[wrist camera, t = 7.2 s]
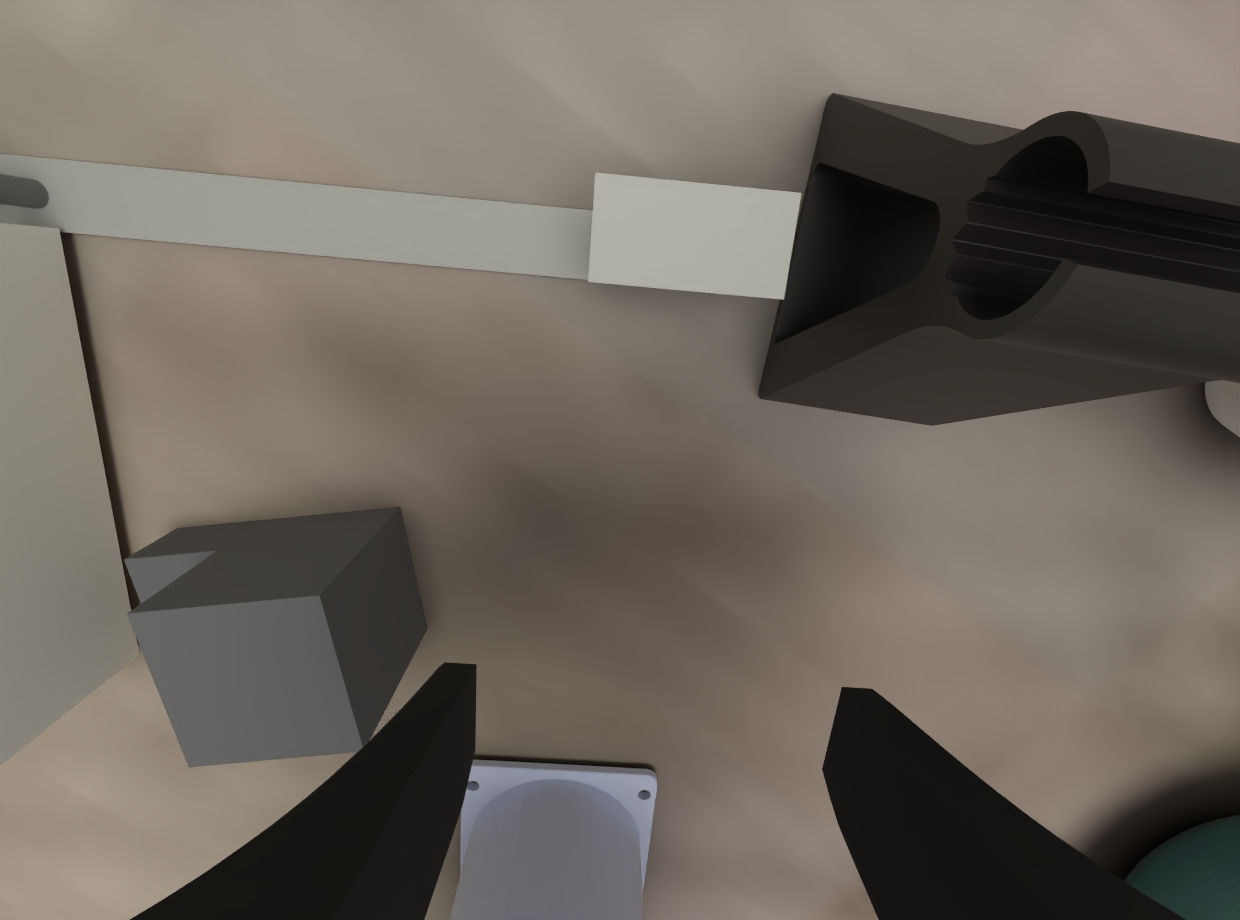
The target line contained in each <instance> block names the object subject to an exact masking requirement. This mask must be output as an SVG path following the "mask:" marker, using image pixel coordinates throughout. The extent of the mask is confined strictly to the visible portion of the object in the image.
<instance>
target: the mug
mask: <svg viewBox="0 0 1240 920" xmlns="http://www.w3.org/2000/svg"><path fill="white" fill-rule="evenodd" d="M1205 397H1206V402H1207V405H1208V407H1209V410H1210V411H1211V413H1212V415H1213V416H1214V417H1215V418H1216V419H1217V420H1218V421H1219V422H1220V423H1221V424H1222V425H1223V426H1225V427H1226V428H1227V429H1229V430H1230V431H1231V432H1233V433H1234V434H1236V435H1237V436H1238V437H1240V383H1236V382H1230V381H1225V380H1218V381H1210V382H1205Z"/></svg>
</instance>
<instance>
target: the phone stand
mask: <svg viewBox="0 0 1240 920" xmlns="http://www.w3.org/2000/svg"><path fill="white" fill-rule="evenodd" d="M1218 380H1225V381H1230V382H1236V383H1240V143H1235V142H1229V141H1224V140H1219V139H1214V138H1209V137H1204V136H1199V135H1194V134H1189V133H1184V132H1179V131H1173V130H1168V129H1163V128H1158V127H1153V126H1148V125H1143V124H1138V123H1133V122H1128V121H1123V120H1117V119H1112V118H1107V117H1102V116H1097V115H1092V114H1087V113H1082V112H1076V111H1066V112H1060V113H1056V114H1053V115H1050V116H1048V117H1045V118H1043V119H1041V120H1039V121H1038V122H1036V123H1034V124H1033V125H1031V126H1029V127H1028V128H1026V129H1024V130H1021V129H1016V128H1010V127H1005V126H1000V125H995V124H990V123H985V122H979V121H974V120H969V119H964V118H959V117H954V116H948V115H943V114H938V113H933V112H928V111H922V110H917V109H912V108H907V107H902V106H897V105H891V104H886V103H881V102H876V101H871V100H865V99H860V98H855V97H850V96H845V95H840V94H834V93H832V94H831V95H830V97H829V99H828V101H827V103H826V106H825V109H824V113H823V117H822V122H821V126H820V130H819V134H818V139H817V143H816V147H815V152H814V156H813V160H812V164H811V169H810V173H809V177H808V182H807V186H806V190H805V194H804V199H803V203H802V207H801V212H800V216H799V220H798V224H797V229H796V233H795V237H794V242H793V248H792V258H791V261H790V266H789V272H788V278H787V284H786V290H785V296H784V300H782V299H780V302H779V306H778V310H777V314H776V319H775V323H774V327H773V332H772V336H771V340H770V344H769V349H768V353H767V357H766V362H765V366H764V370H763V374H762V379H761V383H760V387H759V397H760V399H766V400H772V401H779V402H785V403H791V404H798V405H804V406H810V407H817V408H823V409H830V410H836V411H842V412H849V413H855V414H862V415H868V416H874V417H881V418H887V419H894V420H900V421H906V422H913V423H919V424H926V425H932V426H933V425H939V424H945V423H952V422H958V421H964V420H970V419H977V418H983V417H989V416H996V415H1002V414H1008V413H1014V412H1021V411H1027V410H1033V409H1040V408H1046V407H1052V406H1058V405H1065V404H1071V403H1077V402H1084V401H1090V400H1096V399H1102V398H1109V397H1115V396H1121V395H1128V394H1134V393H1140V392H1146V391H1153V390H1159V389H1165V388H1172V387H1178V386H1184V385H1190V384H1197V383H1203V382H1210V381H1218Z"/></svg>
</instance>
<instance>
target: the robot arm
mask: <svg viewBox="0 0 1240 920" xmlns="http://www.w3.org/2000/svg"><path fill="white" fill-rule="evenodd" d="M475 730H476V664H460V663H444V664H442V665H441V666H440V667H439V668H438V669H437V670H436V671H435V672H434V673H433V675H432V676H431V677H430V678H429V679H428V680H427V681H426V682H425V684H424V685H423V686H422V687H421V688H420V689H419V690H418V691H417V692H416V693H415V695H414V696H413V697H412V698H411V699H410V700H409V701H408V702H407V703H406V704H405V705H404V706H403V707H402V709H401V710H400V711H399V712H398V713H397V714H396V715H395V716H394V717H393V718H392V719H391V720H390V721H389V722H388V723H387V724H386V725H385V726H384V727H383V728H382V729H381V730H380V731H379V732H378V733H377V734H376V735H375V736H374V737H373V738H372V739H371V740H370V741H369V742H368V743H367V744H366V745H365V746H364V747H363V748H362V749H360V750H359V751H358V752H357V753H356V754H355V755H354V756H353V757H352V758H351V759H350V760H348V761H347V762H346V763H345V764H344V765H343V766H342V767H341V768H340V769H339V770H338V771H336V772H335V773H334V774H333V775H332V776H331V777H330V778H329V779H328V780H326V781H325V782H324V783H323V784H322V785H321V786H319V787H318V788H317V789H316V790H315V791H314V792H312V793H311V794H310V795H309V796H308V797H306V798H305V799H304V800H303V801H302V802H300V803H299V804H298V805H297V806H295V807H294V808H293V809H292V810H290V811H289V812H288V813H287V814H285V815H284V816H283V817H281V818H280V819H279V820H278V821H276V822H275V823H274V824H272V825H271V826H270V827H268V828H267V829H266V830H264V831H263V832H262V833H260V834H259V835H258V836H256V837H255V838H253V839H252V840H251V841H249V842H248V843H247V844H245V845H244V846H242V847H241V848H240V849H238V850H237V851H235V852H234V853H232V854H231V855H230V856H228V857H227V858H225V859H224V860H222V861H221V862H220V863H218V864H217V865H215V866H214V867H212V868H211V869H210V870H208V871H207V872H205V873H204V874H202V875H201V876H199V877H198V878H196V879H195V880H193V881H191V882H190V883H188V884H187V885H185V886H184V887H182V888H180V889H179V890H177V891H176V892H174V893H173V894H171V895H169V896H168V897H166V898H165V899H163V900H162V901H160V902H158V903H157V904H155V905H153V906H152V907H150V908H148V909H147V910H145V911H143V912H142V913H140V914H138V915H137V916H135V917H133V918H132V919H130V920H424V918H425V915H426V912H427V910H428V907H429V904H430V901H431V898H432V895H433V892H434V889H435V886H436V883H437V880H438V877H439V874H440V871H441V868H442V865H443V862H444V860H445V857H446V854H447V851H448V848H449V845H450V842H451V839H452V836H453V833H454V830H455V827H456V824H457V821H458V818H459V815H460V812H461V852H460V878H459V882H458V886H457V890H456V894H455V898H454V902H453V906H452V910H451V914H450V918H449V920H644V911H643V889H644V882H645V874H646V867H647V859H648V852H649V845H650V837H651V830H652V822H653V815H654V808H655V800H656V793H657V775H656V774H655V772H653V771H652V770H649V769H638V768H620V767H602V766H584V765H565V764H547V763H529V762H510V761H492V760H473V758H474V753H475ZM822 770H823V774H824V777H825V781H826V785H827V788H828V792H829V795H830V799H831V802H832V805H833V809H834V812H835V815H836V818H837V822H838V825H839V827H840V829H841V832H842V834H843V837H844V839H845V842H846V844H847V846H848V849H849V851H850V854H851V856H852V858H853V861H854V863H855V865H856V868H857V870H858V872H859V875H860V877H861V879H862V882H863V884H864V886H865V889H866V891H867V893H868V896H869V898H870V900H871V903H872V905H873V907H874V910H875V912H876V914H877V917H878V919H879V920H1186V919H1184V918H1183V917H1181V916H1179V915H1178V914H1176V913H1174V912H1173V911H1171V910H1169V909H1168V908H1166V907H1165V906H1163V905H1161V904H1160V903H1158V902H1156V901H1155V900H1153V899H1151V898H1150V897H1148V896H1147V895H1145V894H1143V893H1142V892H1140V891H1138V890H1137V889H1135V888H1133V887H1132V886H1130V885H1129V884H1127V883H1126V882H1124V881H1122V880H1121V879H1119V878H1118V877H1116V876H1115V875H1113V874H1112V873H1110V872H1108V871H1107V870H1105V869H1104V868H1102V867H1101V866H1099V865H1098V864H1096V863H1095V862H1094V861H1092V860H1091V859H1089V858H1088V857H1086V856H1085V855H1083V854H1082V853H1080V852H1079V851H1077V850H1076V849H1075V848H1073V847H1072V846H1070V845H1069V844H1067V843H1066V842H1064V841H1063V840H1061V839H1060V838H1058V837H1057V836H1056V835H1054V834H1053V833H1051V832H1050V831H1049V830H1047V829H1046V828H1044V827H1043V826H1042V825H1040V824H1039V823H1038V822H1036V821H1035V820H1033V819H1032V818H1031V817H1029V816H1028V815H1027V814H1026V813H1024V812H1023V811H1022V810H1020V809H1019V808H1018V807H1016V806H1015V805H1014V804H1012V803H1011V802H1010V801H1008V800H1007V799H1006V798H1005V797H1003V796H1002V795H1001V794H999V793H998V792H997V791H995V790H994V789H993V788H992V787H990V786H989V785H988V784H987V783H985V782H984V781H983V780H982V779H980V778H979V777H978V776H977V775H975V774H974V773H973V772H972V771H970V770H969V769H968V768H967V767H966V766H964V765H963V764H962V763H961V762H960V761H958V760H957V759H956V758H955V757H954V756H952V755H951V754H950V753H949V752H948V751H946V750H945V749H944V748H943V747H942V746H940V745H939V744H938V743H937V742H936V741H934V740H933V739H932V738H931V737H930V736H929V735H927V734H926V733H925V732H924V731H923V730H922V729H920V728H919V727H918V726H917V725H916V724H914V723H913V722H912V721H911V720H910V719H909V718H907V717H906V716H905V715H904V714H903V713H901V712H900V711H899V710H898V709H897V708H896V707H894V706H893V705H892V704H891V703H890V702H888V701H887V700H886V699H885V698H883V697H882V696H881V695H879V694H878V693H877V692H876V691H874V690H873V689H866V688H849V687H842V689H841V693H840V697H839V701H838V706H837V710H836V714H835V718H834V722H833V726H832V731H831V735H830V739H829V743H828V747H827V751H826V756H825V760H824V764H823V768H822ZM471 781H476V782H477V783H473V782H471ZM641 790H647V791H646V792H641Z"/></svg>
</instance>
